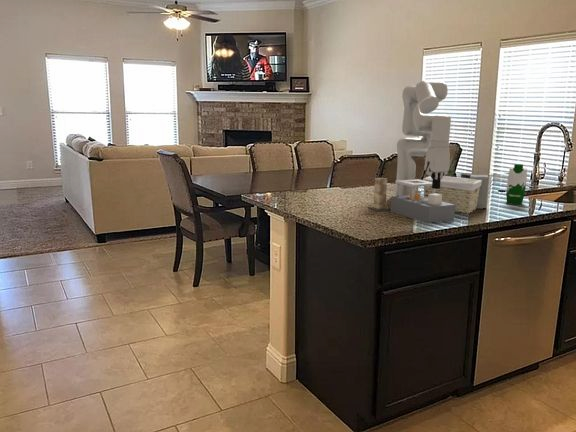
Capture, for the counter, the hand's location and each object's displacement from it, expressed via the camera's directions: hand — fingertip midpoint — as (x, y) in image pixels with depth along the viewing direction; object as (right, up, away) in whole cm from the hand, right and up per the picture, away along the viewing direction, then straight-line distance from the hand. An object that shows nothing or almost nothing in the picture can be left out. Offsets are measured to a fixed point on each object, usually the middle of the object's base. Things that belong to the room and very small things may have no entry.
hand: (435, 188), depth 215 cm
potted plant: (+31, +4, +85) cm, 91 cm away
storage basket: (+15, -9, +27) cm, 32 cm away
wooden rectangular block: (-20, -8, +23) cm, 31 cm away
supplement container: (+37, -1, +64) cm, 74 cm away
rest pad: (-20, -8, +23) cm, 32 cm away
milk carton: (+54, -5, +45) cm, 70 cm away
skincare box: (+29, -8, +32) cm, 44 cm away
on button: (0, -9, +2) cm, 10 cm away
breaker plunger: (-6, -10, +14) cm, 18 cm away
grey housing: (-4, -12, +10) cm, 16 cm away
